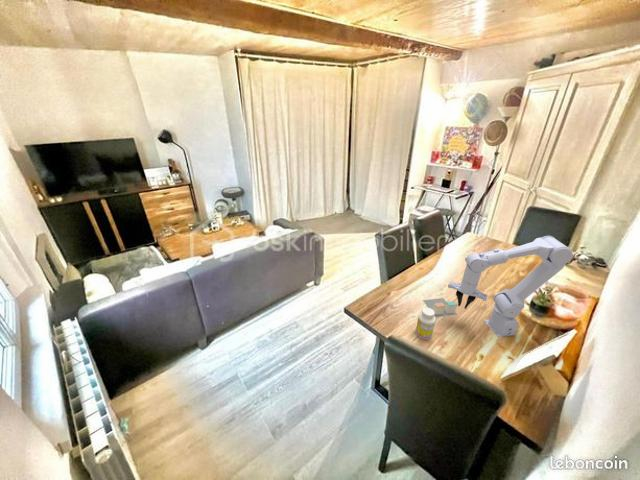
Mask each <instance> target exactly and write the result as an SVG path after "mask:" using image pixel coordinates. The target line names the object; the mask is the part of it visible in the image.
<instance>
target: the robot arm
mask: <svg viewBox="0 0 640 480" xmlns="http://www.w3.org/2000/svg"><path fill="white" fill-rule="evenodd" d="M533 255H534V256H538V257H540V258H541V260H542V263H540V264H538V266H537V267H536V268H534V269H533V270H532V271H531V272H530V273H529V274H527V275H526V276H525V277H524V278H523V279H522V280H520V281H519V282H518V283H517V284H516V285H514V286H513V287H512V288H511V289H506V288H505V289H503V290H502V291H500V292H497V293H496V294H494V296H493V298H492V299H493V302H494V306H493V308H492V311H491V314H490V317H489V318H488V319H487V318H486V319H483V322H484V324H485V325H487V327H488V328H489V329H491V330H492V331H493V333H495V335H496V336H497V337H498V338H499V337H507V336H515V335H516V334H517V333H516V331H517V329H518V327H519V321H518V320H517V319H516V317H518V316H519V315H520V314H521V312H522V310H523V309H525V300H526V299H527V298H528V297H530V296H531V295H532V294H533V293H535V292H536V291H537V290H538V289H540V288H541V287H542V286H543V285H545V284H546V283H547V282H548V281H549V280H551V279H552V278H554V276H556V275H557V274H558V273H559V272H560V271H562V270H563V269H564V268H565V266H566V264H567V263H568V262H570V261H571V260H572V259H574V253H573V250H572V248H571V247H569V246H567V245H565V244H564V243H562V242H560V240H558V239H556V237H554V236H553V235H545V236H542V237H537V238H535V239H534V240H533V241H532V242H528V243H525V244H521V245H518V246H515V247H511V248H509V249H502V248H494V249H492V250H489V251H484V252H480V253H479V252H473V253H472V252H471V253H470V254H468V255H466V257H465V258H464V261H465V263H466V265H465V269H464V272H463V276H462V278H461V283H455V282H452V281H451V282H450V281H449V283H448V286H447V288H448V289H453V290H456V292H455V296H456V299H457V307H460V306H461V305H462V302H463V299H464V298H463V297H464V295H466V296H467V299H466V303H465V305H464V309H465V310H467V307H468V306H469V305H470V304H472V303H473V302H475V300H476V298H479V299H481V300H483V301H484V302H487V300H488V297H489V295H488V294H485V293H483V292H482V291H480V290H478V289H477V288H478V284H479V282H480V278H481V276H482V273H483V272H484V271H486V270H487V269H489V268H491V267H493V266H497V265H498V266H499V265H503V264H506V263H507V262H508V261H509V259H510V260H511V259H515V258H517V259H518V258H521V257H527V256H533Z"/></svg>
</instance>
